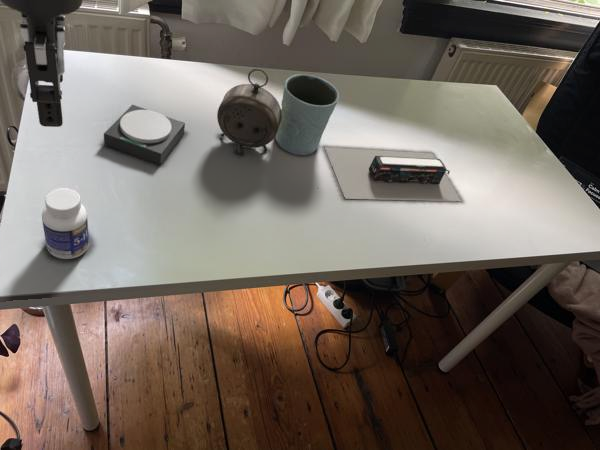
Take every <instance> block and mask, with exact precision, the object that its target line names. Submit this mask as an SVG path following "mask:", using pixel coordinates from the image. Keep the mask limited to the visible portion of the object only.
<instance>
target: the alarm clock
mask: <svg viewBox="0 0 600 450" xmlns="http://www.w3.org/2000/svg"><path fill="white" fill-rule="evenodd" d="M256 71H257V72H258V71H259V72H262V73H263V74H264V76H265V78H266V79H265V80H266V81H265V83H264V84H262V85H260V84H259V83H258V82H255V83H253V82H252V80H251V74H252V73H253V72H256ZM247 80H248V82H249V83H243V84H237V85H235V86H233V87H231V88H229V90H228V91H226V93H225V94H224V96H223V99H222V101H221V103H220V104H219V107H218V109H217V114H216V118H217V123H218V126H219V129H220V130H221V132H222V133H220V137H222V138H223V137H226V138H228V140H229V141H231V142H232V143H234V144H236V145H238V149H237V153H238V154H242V152H243V148H249V149H257V148H263V150H264V152H267V151H268V147H267V145H269V144H270V143H271V142H272V141H273V140H274V139H275V138H276V134H277V131H278V128H279V126H280V123H281V119H282V112H281V109H282V107H281V105H280V103H279V101H278V100H277V98H276V97H275V96H274V94H272V93H271V92H270V91H268V90H267V89H266V88H264V86H266V85H267V84H268V82H269V76H268V74H267V73H266V71H265V70H263V69H262V68H258V67H257V68H252V69H251V70H250V71H249V72H248V74H247Z"/></svg>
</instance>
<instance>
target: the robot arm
mask: <svg viewBox="0 0 600 450" xmlns="http://www.w3.org/2000/svg"><path fill="white" fill-rule="evenodd" d="M0 3H1V4H3V5H4V6H6V7H7V8H9V9H10V10H13V11H16V12H19V13H20V16H21V17H20V18H21V22H19V36H20V37H19V38H20V39H21V41H22V42H23V52H24V62H25V69H26V70H27V74H28V80H29V88H30V93H29V97H30V99H31V101H32V103H36V108H37V115H38V122H39V125H41V127H49V128H50V127H52V128H59V127H62V126H63V123H64V120H63V110H62V109H63V108H62V99H63V98H62V96H63V89H61V83H63V81H64V74H65V72H66V68H65V67H66V65H65V53H64V52H65V51H64V49H65V48H64V47H65V46H66V44H67V39H66V31H67V27H66V16H67V15H70V14H73V13H74V12H76V11H78V10H79V9H80V8H81V6H82V5H83V0H0ZM40 82H45V83H51V85H48V84H40Z"/></svg>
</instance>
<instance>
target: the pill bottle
mask: <svg viewBox="0 0 600 450" xmlns="http://www.w3.org/2000/svg"><path fill="white" fill-rule="evenodd" d="M81 201H82V200H81V196H80V194H79V193H78V192H77V191H76V190H74V189H71V188H67V187H60V188H55V189H53V190H51V191H49V192H48V193H47V194H46V195H45V198H44V203H45V206H44V208H43V210H42V213H41V221H42V222H41V223H42V228H43V233H44V240H45V245H46V249H47V250H48V253H49V254H50V255H52V256H53V257H55V258H58V259H62V260H71V259H76V258H78V257H80V256H82V255H83V254H85V253H86V251H87V250H88V248H89V247H90V235H89V222H88V212H87V209H86V208H85V206H84V205H83V204H82V202H81Z"/></svg>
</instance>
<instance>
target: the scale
mask: <svg viewBox="0 0 600 450" xmlns="http://www.w3.org/2000/svg"><path fill="white" fill-rule="evenodd" d="M185 127H186V123H185V122H182V121H180V120H177V119H175V118H172V117H169V116H167V115H164V114H162V113H160V112H158V111H154V110H149V109H147V108H144V107H141V106H138V105H135V104H132V105H130V107H129V108H127V109H126V110H125V111H124V112H123V113H122V115H121V116H119V118H118V119H116V120H115V121H114V123H113V124H112V125H111V126H110V127H109V128H108V129H107V130H106V131H104V133H103V143H104V146H106V147H109V148H111V149H114V150H116V151H117V150H118V151H121V152H123V153H125V154H129V155H132V156H135V157H138V158H140V159H142V160H146V161H148V162H151V163H154V164H157V165H162V164H163V162H164V161H165V159H166V158H167V157H168V155H169V154H170V153H171V152H172V151H173V149H174V148H175V146H177V144H178V142H179V141H180V139H182V137H183V136H184V135H185Z"/></svg>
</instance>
